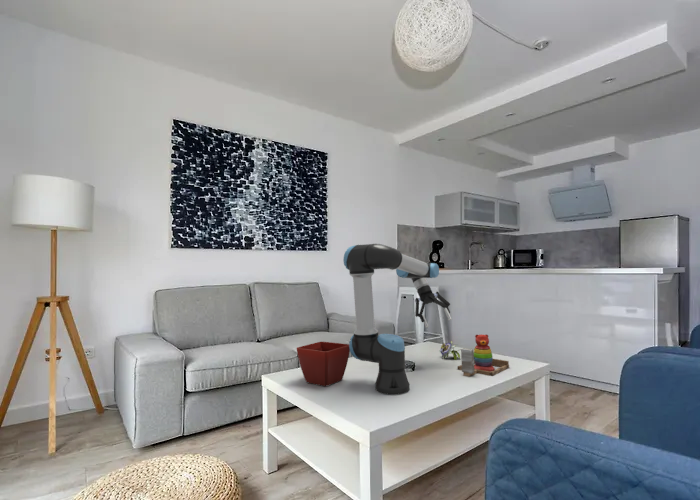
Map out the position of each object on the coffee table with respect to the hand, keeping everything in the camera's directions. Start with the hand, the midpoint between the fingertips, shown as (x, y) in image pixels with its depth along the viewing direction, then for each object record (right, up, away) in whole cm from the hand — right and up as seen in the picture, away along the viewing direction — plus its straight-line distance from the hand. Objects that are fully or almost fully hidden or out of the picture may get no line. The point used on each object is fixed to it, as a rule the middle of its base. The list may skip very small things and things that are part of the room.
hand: (438, 323), depth 198 cm
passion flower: (+12, -25, +20) cm, 34 cm away
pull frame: (+19, -22, -8) cm, 30 cm away
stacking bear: (+22, -23, -5) cm, 32 cm away
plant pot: (-59, -24, -19) cm, 67 cm away
